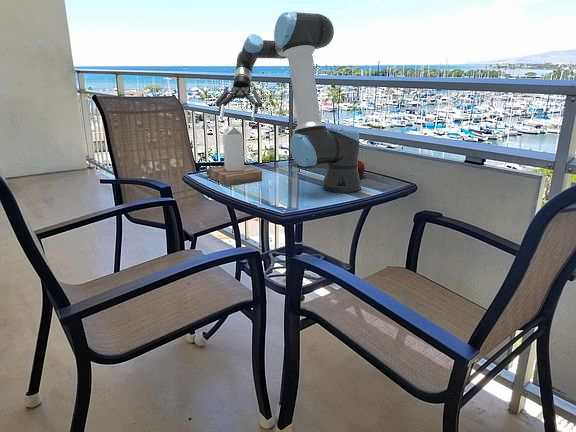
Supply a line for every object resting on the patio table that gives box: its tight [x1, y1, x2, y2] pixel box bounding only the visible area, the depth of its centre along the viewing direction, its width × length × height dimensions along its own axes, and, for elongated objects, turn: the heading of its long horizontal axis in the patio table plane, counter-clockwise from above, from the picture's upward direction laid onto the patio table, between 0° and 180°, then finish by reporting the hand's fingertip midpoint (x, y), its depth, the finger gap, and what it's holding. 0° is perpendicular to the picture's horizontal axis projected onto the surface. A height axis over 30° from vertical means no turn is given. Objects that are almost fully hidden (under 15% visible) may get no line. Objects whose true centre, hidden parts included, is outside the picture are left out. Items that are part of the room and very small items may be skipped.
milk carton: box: [222, 122, 245, 171], centre depth 172 cm, size 7×7×19 cm
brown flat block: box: [206, 164, 263, 187], centre depth 177 cm, size 20×16×4 cm
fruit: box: [358, 158, 366, 178], centre depth 179 cm, size 9×10×10 cm
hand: (236, 118), depth 178 cm, fingers open, 13 cm apart
